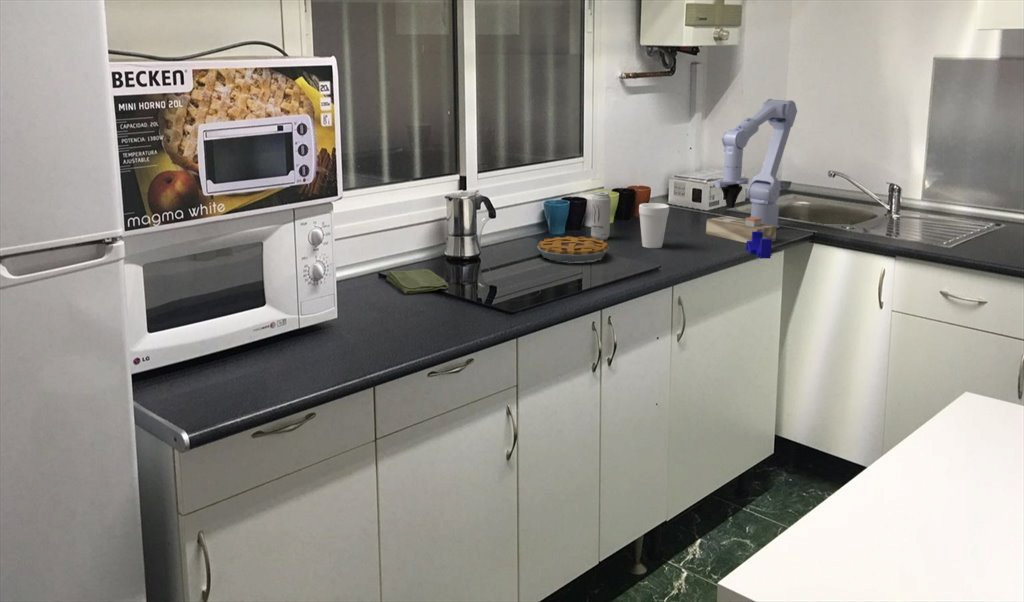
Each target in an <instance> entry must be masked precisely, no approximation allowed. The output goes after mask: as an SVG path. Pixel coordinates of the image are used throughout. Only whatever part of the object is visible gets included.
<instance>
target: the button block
mask: <svg viewBox="0 0 1024 602" xmlns="http://www.w3.org/2000/svg"><path fill="white" fill-rule="evenodd" d="M723 219H734V220H737V221H733V222H728V221H723ZM745 221H746V219H745V218H744V219H743V218H738V217H734V216H729V215H725V216H719V217H712V218H707V219H706V225H705V226H706V227H705V235H709V236H713V237H719V238H723V239H727V240H732V241H735V242H741V243H747V241H751V240H752V232H763V239H772V243H773V242H776V240H777V239H776V237H777V228H776V227H777V226H774V225H769V224H764V223H761V226H757V227H752V226H747V225H745Z"/></svg>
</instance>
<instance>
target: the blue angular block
mask: <svg viewBox="0 0 1024 602" xmlns="http://www.w3.org/2000/svg"><path fill="white" fill-rule="evenodd" d="M772 243H773V242H772V239H763V232H752V240H751V241H747V243H746V244H745V245H746V246H745V251H747V252H748V253H749V254H750V255H756V256H757V257H758V258H759V259H771V255H772Z"/></svg>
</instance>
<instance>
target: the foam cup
mask: <svg viewBox="0 0 1024 602" xmlns="http://www.w3.org/2000/svg"><path fill="white" fill-rule="evenodd" d="M638 213H639V223H640V235H641V236H640V237H641V244H642V247H644V248H647V249H659V248H662V247H663V243H664V238H665V232H666V228H667V227H666V225H667V222H668V216H669V213H670V205H668V204H666V203H659V202H648V203H647V202H646V203H645V202H644V203H640V204H639V206H638Z"/></svg>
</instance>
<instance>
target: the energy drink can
mask: <svg viewBox="0 0 1024 602" xmlns="http://www.w3.org/2000/svg"><path fill="white" fill-rule="evenodd" d="M590 225H591V226H590V227H591V228H590V236H591V237H592V238H595V239H596V240H603V241H605V240H608V238H609V237H610V231H611V230H610V227H611V197H610V193H609V192H605V191H596V192H594V193H593V196H592V198H591V224H590Z"/></svg>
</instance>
